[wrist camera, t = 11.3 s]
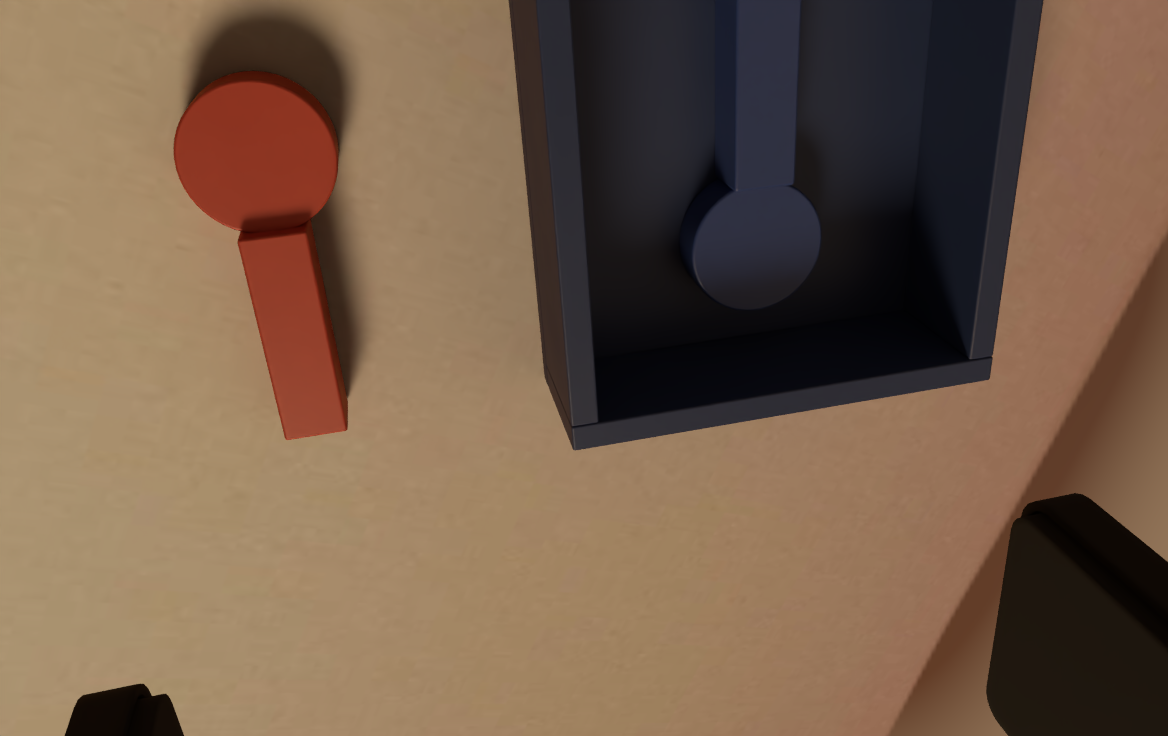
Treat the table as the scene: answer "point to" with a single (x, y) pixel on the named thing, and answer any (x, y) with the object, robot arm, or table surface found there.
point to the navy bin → (822, 172)
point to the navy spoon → (753, 165)
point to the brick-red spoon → (273, 226)
